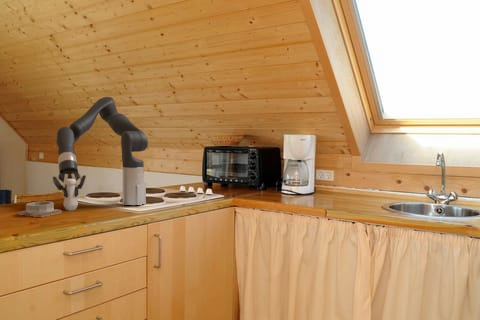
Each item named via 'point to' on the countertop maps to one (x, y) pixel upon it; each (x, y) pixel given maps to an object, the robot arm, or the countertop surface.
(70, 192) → the salt shaker
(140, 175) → the robot arm
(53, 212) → the cup holder
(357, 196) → the countertop surface
